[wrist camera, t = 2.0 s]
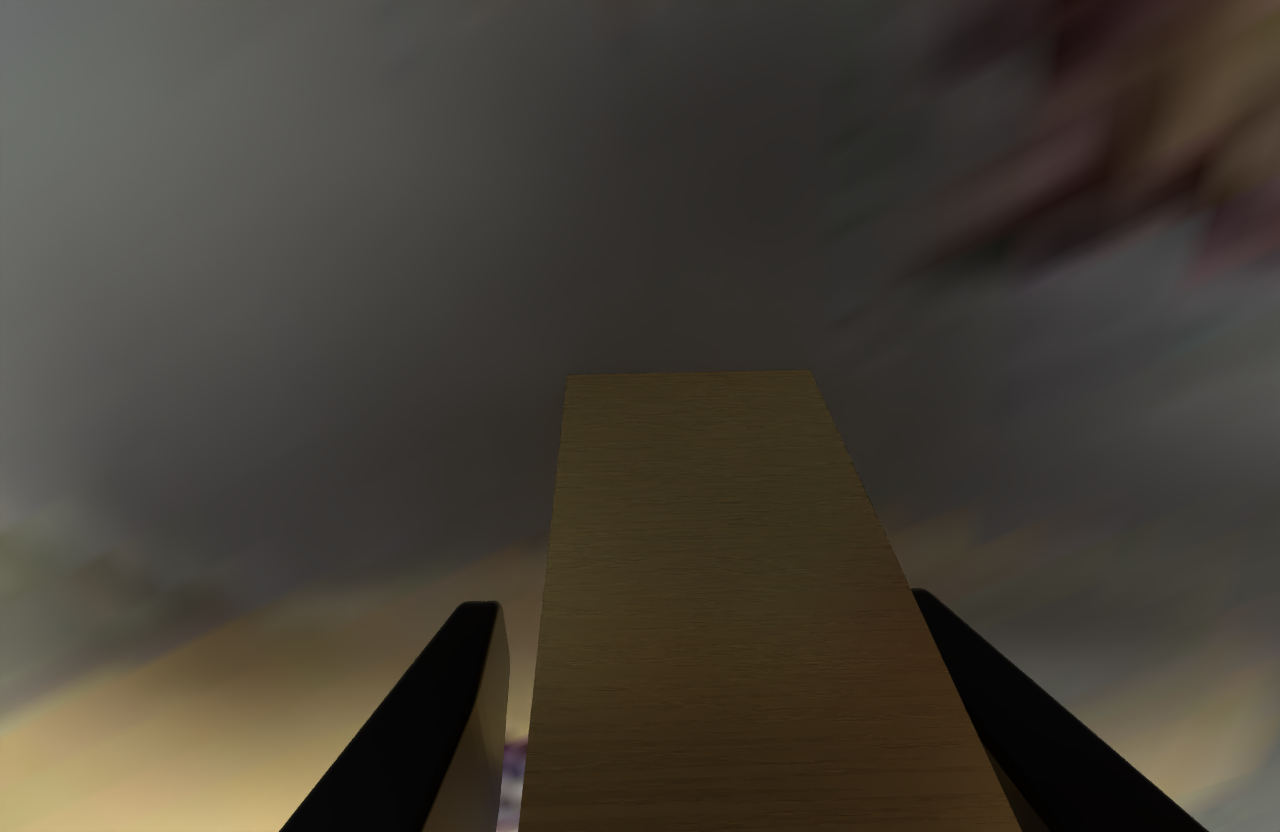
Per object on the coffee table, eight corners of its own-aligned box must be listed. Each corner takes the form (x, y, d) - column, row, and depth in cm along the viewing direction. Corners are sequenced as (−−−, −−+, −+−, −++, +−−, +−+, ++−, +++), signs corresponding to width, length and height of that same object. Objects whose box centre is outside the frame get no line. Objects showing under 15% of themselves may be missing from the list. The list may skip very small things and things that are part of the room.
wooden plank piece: (768, 682, 10) (873, 1188, 6) (588, 688, 10) (571, 1202, 6) (808, 367, 8) (1043, 879, 4) (567, 374, 8) (510, 900, 3)
